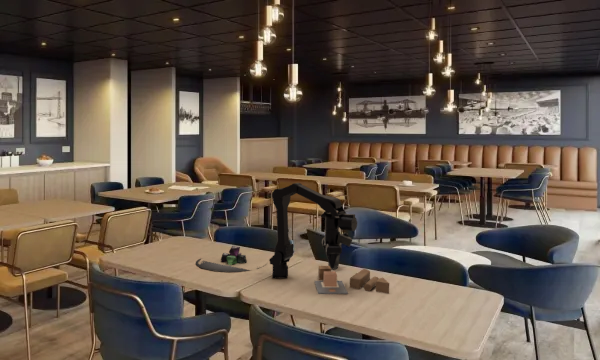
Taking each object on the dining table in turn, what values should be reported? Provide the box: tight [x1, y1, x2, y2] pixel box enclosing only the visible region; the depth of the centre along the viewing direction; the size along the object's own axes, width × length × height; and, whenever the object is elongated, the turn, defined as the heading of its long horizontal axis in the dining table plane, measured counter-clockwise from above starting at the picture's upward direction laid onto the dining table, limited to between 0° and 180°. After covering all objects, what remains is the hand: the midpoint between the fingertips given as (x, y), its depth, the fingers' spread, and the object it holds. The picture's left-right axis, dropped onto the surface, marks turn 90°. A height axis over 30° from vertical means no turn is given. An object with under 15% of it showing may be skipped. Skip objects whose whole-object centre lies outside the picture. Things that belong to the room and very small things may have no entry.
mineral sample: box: [195, 245, 265, 273], centre depth 249 cm, size 35×35×9 cm
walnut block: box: [317, 265, 332, 281], centre depth 226 cm, size 5×5×5 cm
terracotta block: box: [322, 270, 338, 286], centre depth 214 cm, size 5×5×5 cm
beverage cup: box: [327, 243, 342, 271], centre depth 241 cm, size 7×7×20 cm
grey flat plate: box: [314, 280, 349, 295], centre depth 212 cm, size 12×16×1 cm
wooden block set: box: [349, 268, 390, 294], centre depth 217 cm, size 17×6×18 cm
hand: (331, 265), depth 213 cm, fingers open, 9 cm apart
